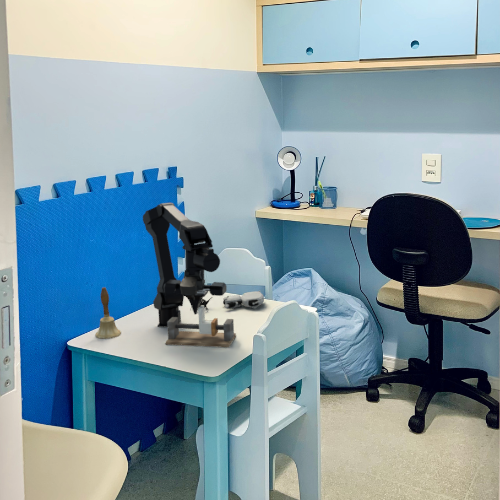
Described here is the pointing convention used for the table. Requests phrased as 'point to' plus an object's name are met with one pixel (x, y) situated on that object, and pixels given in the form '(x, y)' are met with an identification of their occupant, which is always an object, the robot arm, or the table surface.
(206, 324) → the white l-bracket
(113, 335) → the hand bell
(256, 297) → the robot toy
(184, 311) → the table surface
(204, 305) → the creature
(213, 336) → the rail board
